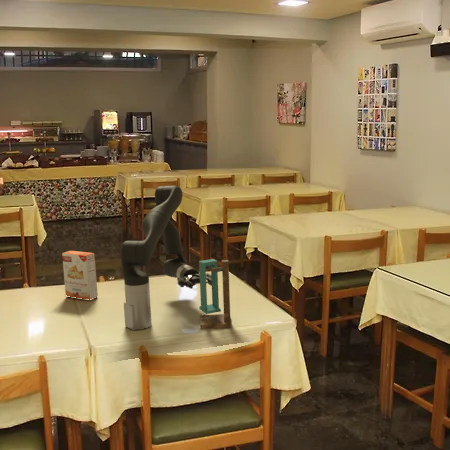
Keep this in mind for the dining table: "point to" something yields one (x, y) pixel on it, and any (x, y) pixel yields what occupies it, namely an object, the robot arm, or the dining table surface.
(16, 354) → the dining table surface
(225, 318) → the hook stand
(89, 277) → the cracker box
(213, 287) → the teal loop
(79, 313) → the dining table surface
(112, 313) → the dining table surface
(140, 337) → the dining table surface
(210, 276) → the robot arm
